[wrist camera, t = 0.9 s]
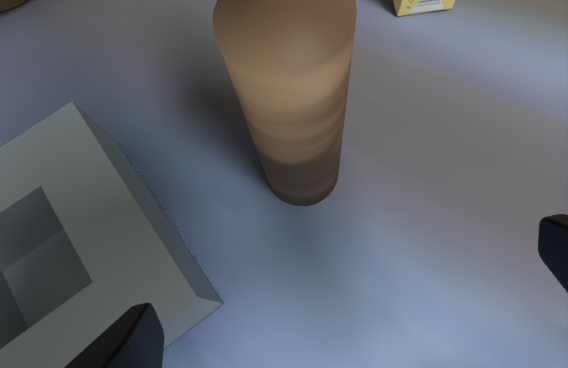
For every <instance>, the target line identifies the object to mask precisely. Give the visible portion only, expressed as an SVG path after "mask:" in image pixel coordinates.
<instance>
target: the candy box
mask: <svg viewBox="0 0 568 368" xmlns="http://www.w3.org/2000/svg"><path fill="white" fill-rule="evenodd" d="M454 2H455V0H393V3H394V7H395V11H396V14H397V16H404V15H410V14H418V13H425V12H431V11H438V10H447V9H451V8H452V7H453V5H454Z"/></svg>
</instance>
